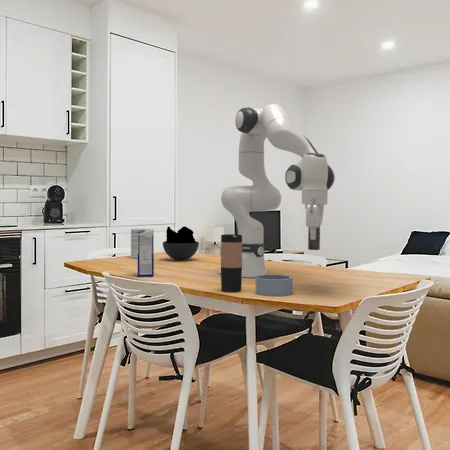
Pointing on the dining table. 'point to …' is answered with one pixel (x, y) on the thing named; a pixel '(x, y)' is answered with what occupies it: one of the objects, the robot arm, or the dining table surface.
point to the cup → (274, 285)
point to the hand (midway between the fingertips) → (314, 239)
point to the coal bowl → (180, 244)
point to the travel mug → (231, 262)
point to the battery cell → (314, 243)
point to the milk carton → (146, 253)
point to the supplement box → (135, 242)
